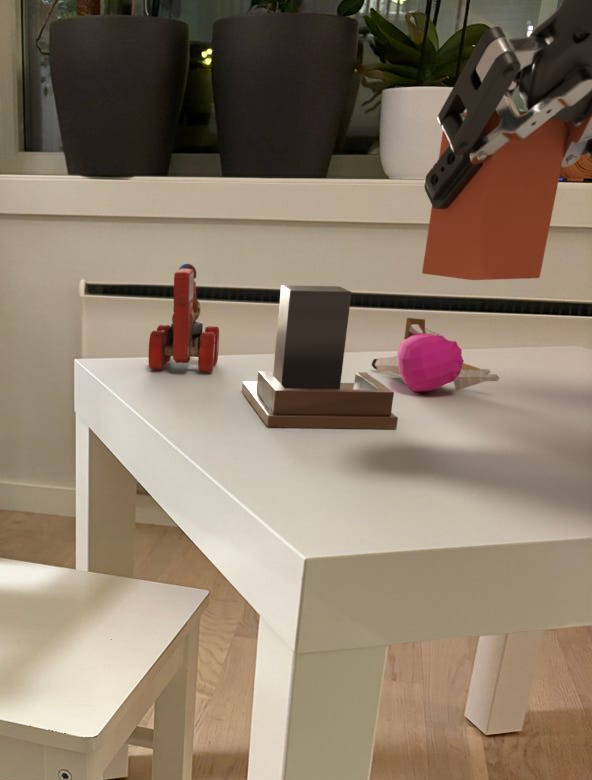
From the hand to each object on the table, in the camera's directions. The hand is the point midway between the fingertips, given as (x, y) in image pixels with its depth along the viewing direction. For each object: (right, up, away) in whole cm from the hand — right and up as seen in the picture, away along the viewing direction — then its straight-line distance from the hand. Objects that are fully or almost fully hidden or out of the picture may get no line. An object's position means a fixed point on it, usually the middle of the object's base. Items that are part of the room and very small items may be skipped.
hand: (471, 197), depth 61 cm
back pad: (+1, -5, 0) cm, 5 cm away
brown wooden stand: (-4, -6, +29) cm, 30 cm away
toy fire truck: (-15, +2, +46) cm, 49 cm away
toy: (+11, -1, +40) cm, 41 cm away
